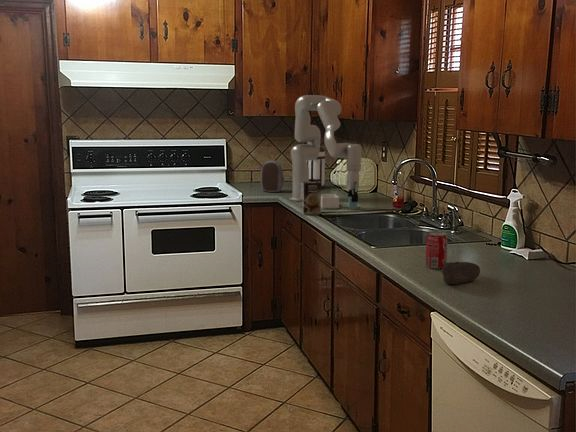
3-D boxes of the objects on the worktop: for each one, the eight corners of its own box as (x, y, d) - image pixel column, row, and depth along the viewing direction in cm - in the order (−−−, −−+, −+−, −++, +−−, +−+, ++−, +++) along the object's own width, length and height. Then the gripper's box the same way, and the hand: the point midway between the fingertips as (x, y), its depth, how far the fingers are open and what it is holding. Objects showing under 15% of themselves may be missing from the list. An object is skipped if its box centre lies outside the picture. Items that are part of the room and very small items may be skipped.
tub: (318, 205, 334) (319, 194, 332) (335, 204, 334) (335, 194, 333) (322, 208, 322) (322, 197, 321) (339, 208, 323) (339, 197, 322)
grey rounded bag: (258, 192, 379) (258, 160, 375) (263, 190, 387) (263, 158, 383) (281, 193, 374) (281, 160, 370) (286, 191, 382) (286, 159, 378)
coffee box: (303, 215, 304) (304, 183, 301) (300, 212, 310) (300, 181, 307) (321, 214, 307) (321, 182, 304) (317, 212, 313) (317, 180, 310)
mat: (336, 204, 337) (336, 203, 337) (357, 203, 338) (357, 203, 338) (342, 209, 319) (342, 209, 319) (364, 209, 321) (364, 208, 320)
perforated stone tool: (474, 278, 198) (475, 257, 197) (485, 282, 194) (486, 261, 192) (435, 283, 193) (437, 261, 191) (446, 287, 188) (447, 265, 187)
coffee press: (298, 187, 401) (298, 141, 395) (319, 185, 408) (319, 140, 402) (311, 190, 386) (311, 143, 380) (332, 189, 393) (333, 142, 387)
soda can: (442, 264, 214) (444, 231, 212) (448, 270, 207) (450, 235, 205) (422, 264, 214) (424, 231, 212) (428, 270, 207) (429, 235, 205)
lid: (339, 204, 335) (339, 193, 333) (356, 204, 336) (356, 193, 334) (344, 209, 320) (344, 197, 318) (362, 208, 320) (362, 197, 319)
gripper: (343, 166, 326) (342, 197, 329) (349, 170, 309) (349, 203, 312) (357, 166, 327) (356, 197, 330) (364, 169, 310) (363, 203, 313)
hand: (352, 200), depth 321 cm, fingers open, 9 cm apart
